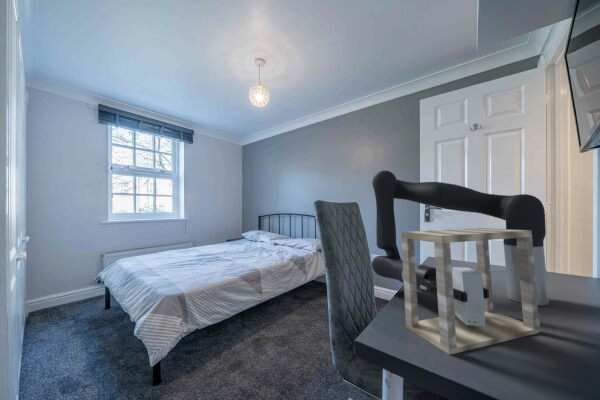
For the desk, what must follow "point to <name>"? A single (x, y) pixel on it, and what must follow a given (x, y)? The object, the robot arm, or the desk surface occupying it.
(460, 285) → the skincare box
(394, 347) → the desk surface
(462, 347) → the oak counter shelf
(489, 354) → the desk surface
